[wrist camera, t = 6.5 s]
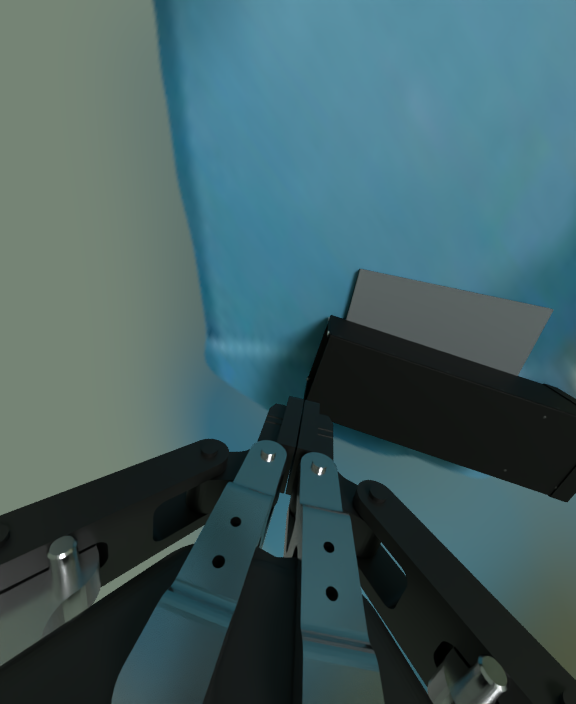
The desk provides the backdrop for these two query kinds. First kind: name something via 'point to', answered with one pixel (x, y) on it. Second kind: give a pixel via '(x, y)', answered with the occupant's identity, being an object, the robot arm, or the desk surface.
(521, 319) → the rubber mat
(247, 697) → the robot arm
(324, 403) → the black rectangular bar
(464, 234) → the desk surface
